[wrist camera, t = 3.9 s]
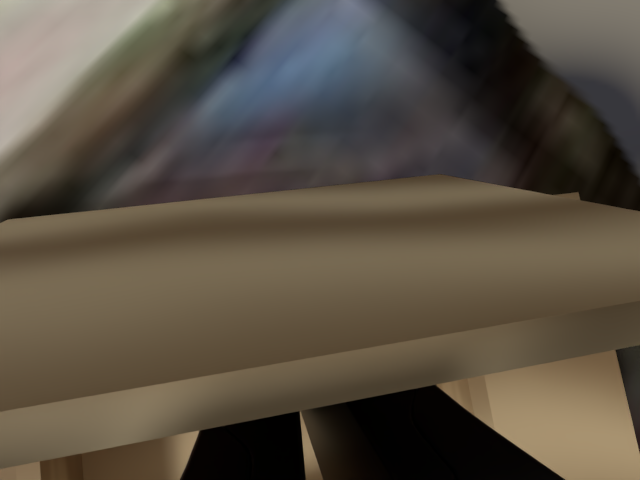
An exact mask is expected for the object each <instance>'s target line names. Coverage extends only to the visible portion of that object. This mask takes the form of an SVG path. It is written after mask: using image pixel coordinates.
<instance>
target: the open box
mask: <svg viewBox="0 0 640 480" xmlns="http://www.w3.org/2000/svg"><path fill="white" fill-rule="evenodd" d="M554 196H559V197H565V198H570V199H576V200H580V197H579V193H578V192H576V193H568V194H559V195H554ZM436 385H437V386H438V387H439V388H440V389H441V390H443V391H444V392H445V393H446V394H447V395H449V396H450V397H451V398H452V399H454V400H455V401H456V402H457V403H459V404H460V405H461V406H462V407H463V408H465V409H466V410H467V411H469V412H470V413H472V414H473V415H474V416H476V417H477V418H478V419H480V420H481V421H482V422H484V423H485V424H487V425H488V426H489V427H491V428H492V429H493V430H495V431H496V432H498V433H499V434H501V435H502V436H503V437H505V438H506V439H508V440H509V441H511V442H512V443H513V444H515V445H516V446H518V447H519V448H521V449H522V450H524V451H525V452H526V453H528V454H529V455H531V456H532V457H534V458H535V459H536V460H538V461H539V462H541V463H542V464H544V465H545V466H546V467H548V468H549V469H551V470H552V471H554V472H555V473H556V474H558V475H559V476H561V477H562V478H564V479H565V480H640V453H639V449H638V445H637V441H636V436H635V432H634V428H633V424H632V419H631V415H630V411H629V406H628V402H627V398H626V394H625V389H624V385H623V381H622V376H621V372H620V368H619V364H618V359H617V355H616V351H615V350H611V351H606V352H601V353H596V354H591V355H586V356H581V357H575V358H570V359H565V360H560V361H555V362H550V363H544V364H539V365H534V366H529V367H524V368H519V369H514V370H508V371H503V372H498V373H493V374H488V375H483V376H477V377H472V378H467V379H462V380H457V381H452V382H447V383H441V384H436ZM300 420H301V431H302V442H303V453H304V464H305V475H306V480H323V477H322V474H321V471H320V468H319V465H318V462H317V459H316V456H315V453H314V450H313V447H312V444H311V441H310V438H309V435H308V432H307V429H306V426H305V423H304V420H303V417H302V414H301V411H300ZM198 433H199V431H194V432H189V433H184V434H179V435H173V436H168V437H163V438H158V439H153V440H148V441H143V442H137V443H132V444H127V445H122V446H117V447H112V448H106V449H101V450H96V451H91V452H86V453H81V454H76V455H70V456H65V457H60V458H55V459H50V460H45V461H39V462H34V463H29V464H24V465H19V466H14V467H9V468H3V469H0V480H180V478H181V476H182V473H183V471H184V469H185V467H186V464H187V462H188V459H189V457H190V454H191V451H192V449H193V446H194V444H195V441H196V439H197V436H198Z"/></svg>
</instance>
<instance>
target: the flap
mask: <svg viewBox="0 0 640 480" xmlns="http://www.w3.org/2000/svg"><path fill="white" fill-rule="evenodd" d="M637 345H640V211H634V210H629V209H624V208H618V207H613V206H608V205H602V204H597V203H592V202H586V201H581V200H576V199H570V198H565V197H559V196H554V195H549V194H543V193H538V192H533V191H527V190H522V189H517V188H511V187H506V186H501V185H495V184H490V183H485V182H479V181H474V180H469V179H463V178H458V177H453V176H447V175H442V174H438V175H428V176H419V177H409V178H400V179H390V180H380V181H371V182H361V183H352V184H342V185H333V186H323V187H314V188H304V189H295V190H285V191H275V192H266V193H256V194H247V195H237V196H228V197H218V198H209V199H199V200H190V201H180V202H171V203H161V204H151V205H142V206H132V207H123V208H113V209H104V210H94V211H85V212H75V213H66V214H56V215H47V216H37V217H27V218H18V219H8V220H6V221H4V222H2V223H0V469H3V468H9V467H14V466H19V465H24V464H29V463H34V462H39V461H45V460H50V459H55V458H60V457H65V456H70V455H76V454H81V453H86V452H91V451H96V450H101V449H106V448H112V447H117V446H122V445H127V444H132V443H137V442H143V441H148V440H153V439H158V438H163V437H168V436H173V435H179V434H184V433H189V432H194V431H199V430H204V429H210V428H215V427H220V426H225V425H230V424H235V423H240V422H246V421H251V420H256V419H261V418H266V417H271V416H277V415H282V414H287V413H292V412H297V411H302V410H307V409H313V408H318V407H323V406H328V405H333V404H338V403H343V402H349V401H354V400H359V399H364V398H369V397H374V396H380V395H385V394H390V393H395V392H400V391H405V390H410V389H416V388H421V387H426V386H431V385H436V384H441V383H447V382H452V381H457V380H462V379H467V378H472V377H477V376H483V375H488V374H493V373H498V372H503V371H508V370H514V369H519V368H524V367H529V366H534V365H539V364H544V363H550V362H555V361H560V360H565V359H570V358H575V357H581V356H586V355H591V354H596V353H601V352H606V351H611V350H617V349H622V348H627V347H632V346H637Z"/></svg>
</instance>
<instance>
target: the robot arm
mask: <svg viewBox="0 0 640 480" xmlns="http://www.w3.org/2000/svg"><path fill="white" fill-rule="evenodd" d="M301 414H302V417H303V420H304V423H305V426H306V429H307V432H308V435H309V438H310V441H311V444H312V447H313V450H314V453H315V456H316V459H317V462H318V465H319V468H320V471H321V474H322V477H323V480H565V479H564V478H562V477H561V476H559V475H558V474H556V473H555V472H554V471H552V470H551V469H549V468H548V467H546V466H545V465H544V464H542V463H541V462H539V461H538V460H536V459H535V458H534V457H532V456H531V455H529V454H528V453H526V452H525V451H524V450H522V449H521V448H519V447H518V446H516V445H515V444H513V443H512V442H511V441H509V440H508V439H506V438H505V437H503V436H502V435H501V434H499V433H498V432H496V431H495V430H493V429H492V428H491V427H489V426H488V425H487V424H485V423H484V422H482V421H481V420H480V419H478V418H477V417H476V416H474V415H473V414H472V413H470V412H469V411H467V410H466V409H465V408H463V407H462V406H461V405H460V404H459V403H457V402H456V401H455V400H454V399H452V398H451V397H450V396H449V395H447V394H446V393H445V392H444V391H443V390H441V389H440V388H439V387H438V386H437V385H431V386H426V387H421V388H416V389H410V390H405V391H400V392H395V393H390V394H385V395H380V396H374V397H369V398H364V399H359V400H354V401H349V402H343V403H338V404H333V405H328V406H323V407H318V408H313V409H307V410H302V411H301ZM180 480H306V475H305V464H304V453H303V442H302V431H301V420H300V411H297V412H292V413H287V414H282V415H277V416H271V417H266V418H261V419H256V420H251V421H246V422H240V423H235V424H230V425H225V426H220V427H215V428H210V429H204V430H199V433H198V436H197V439H196V441H195V444H194V446H193V449H192V451H191V454H190V457H189V459H188V462H187V464H186V467H185V469H184V471H183V473H182V476H181V478H180Z"/></svg>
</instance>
